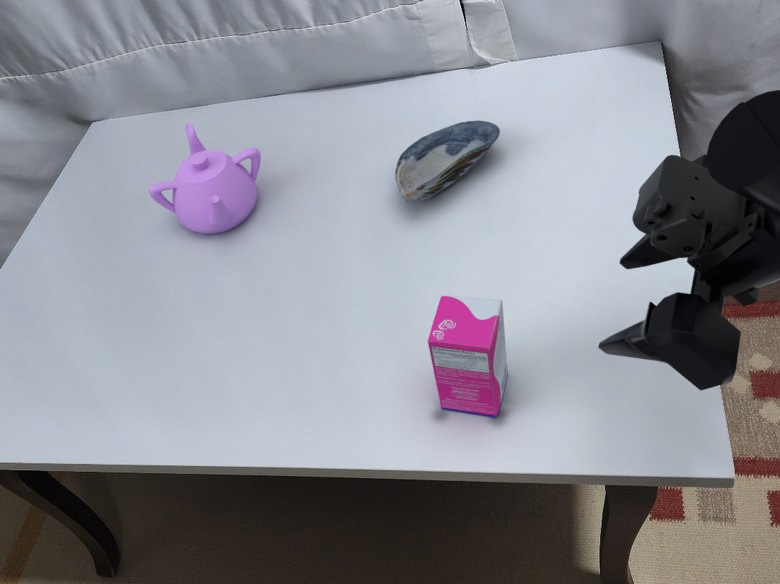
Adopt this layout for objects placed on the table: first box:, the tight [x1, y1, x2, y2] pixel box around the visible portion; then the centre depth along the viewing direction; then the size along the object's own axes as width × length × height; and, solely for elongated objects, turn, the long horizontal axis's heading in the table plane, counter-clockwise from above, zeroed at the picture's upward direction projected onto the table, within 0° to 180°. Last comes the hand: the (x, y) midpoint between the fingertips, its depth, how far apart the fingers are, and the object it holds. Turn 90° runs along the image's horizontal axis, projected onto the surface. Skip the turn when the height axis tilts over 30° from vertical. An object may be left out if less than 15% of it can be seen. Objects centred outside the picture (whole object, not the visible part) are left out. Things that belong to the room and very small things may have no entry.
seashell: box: [394, 120, 501, 203], centre depth 94 cm, size 15×12×5 cm
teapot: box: [148, 122, 262, 235], centre depth 99 cm, size 12×14×9 cm
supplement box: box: [427, 294, 509, 419], centre depth 71 cm, size 6×6×12 cm
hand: (612, 305), depth 62 cm, fingers open, 9 cm apart
